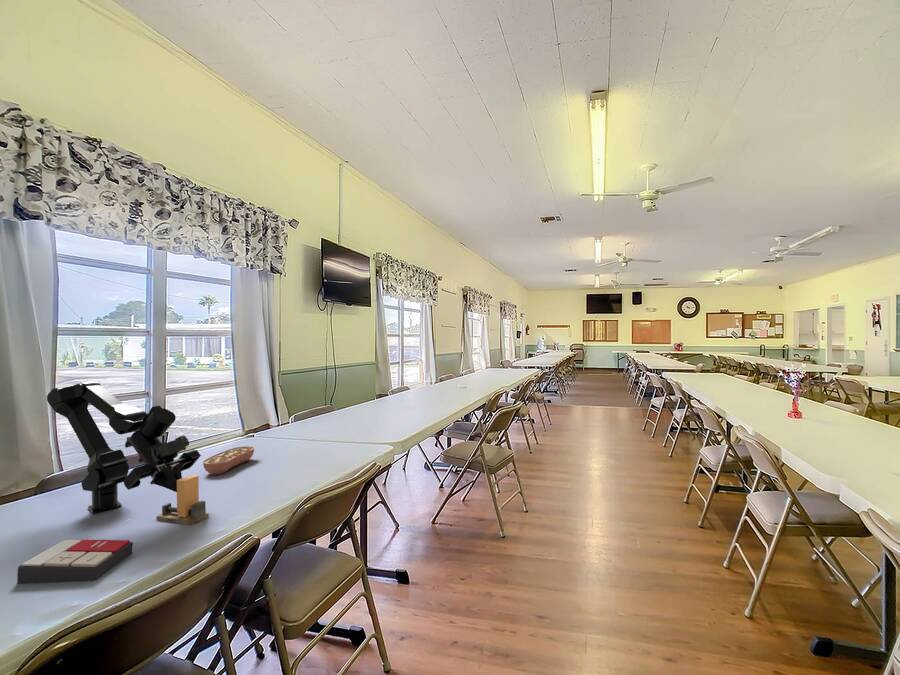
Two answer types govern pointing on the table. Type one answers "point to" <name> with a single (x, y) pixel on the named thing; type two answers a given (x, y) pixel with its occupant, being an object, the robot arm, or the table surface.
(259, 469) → the table surface
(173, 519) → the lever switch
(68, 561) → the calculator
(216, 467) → the brown oval piece
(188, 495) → the orange slab
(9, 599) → the table surface
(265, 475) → the table surface
